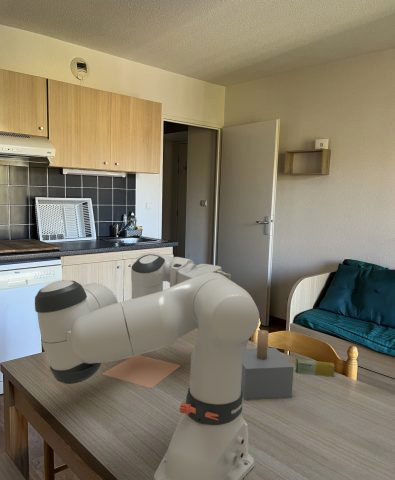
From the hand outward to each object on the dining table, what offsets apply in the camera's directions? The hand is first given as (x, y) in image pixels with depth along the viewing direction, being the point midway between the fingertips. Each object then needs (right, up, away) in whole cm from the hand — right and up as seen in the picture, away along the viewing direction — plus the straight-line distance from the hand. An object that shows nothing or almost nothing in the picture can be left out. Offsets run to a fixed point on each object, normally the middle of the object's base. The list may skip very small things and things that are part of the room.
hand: (224, 280), depth 119 cm
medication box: (+30, -31, +9) cm, 44 cm away
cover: (+11, -31, -2) cm, 33 cm away
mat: (-26, -29, +6) cm, 39 cm away
